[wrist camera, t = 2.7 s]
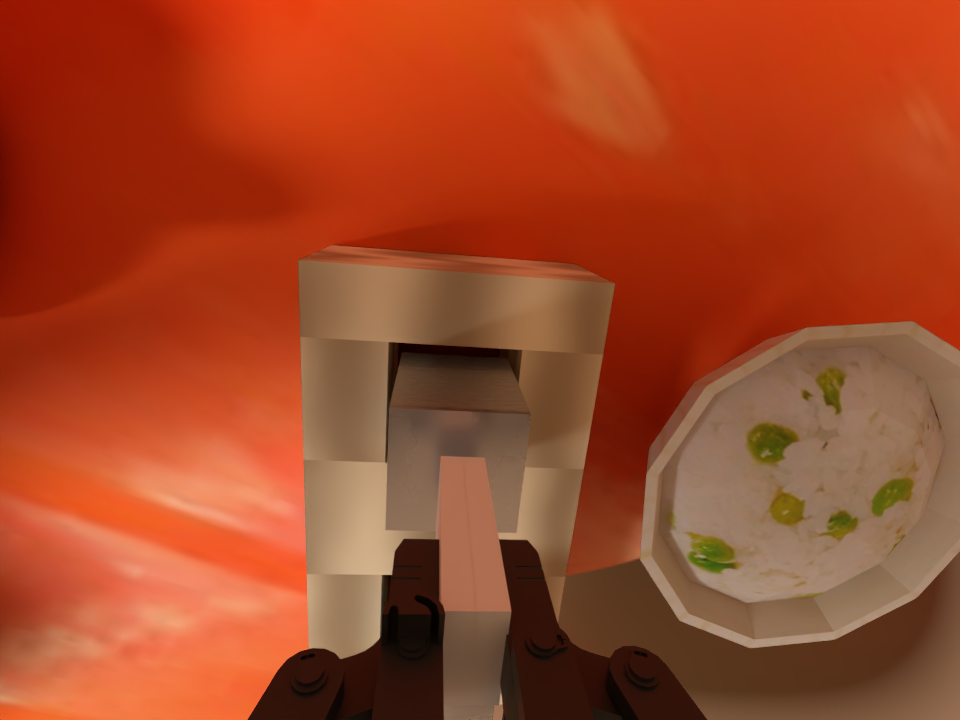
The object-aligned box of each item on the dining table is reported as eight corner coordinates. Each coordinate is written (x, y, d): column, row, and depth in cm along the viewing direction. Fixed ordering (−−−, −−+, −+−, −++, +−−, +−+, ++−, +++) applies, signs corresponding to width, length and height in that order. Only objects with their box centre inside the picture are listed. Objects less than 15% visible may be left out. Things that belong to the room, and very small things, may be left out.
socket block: (334, 612, 36) (310, 707, 29) (331, 245, 28) (298, 259, 21) (525, 612, 37) (544, 703, 30) (574, 263, 29) (615, 283, 22)
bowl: (793, 560, 38) (913, 682, 28) (552, 525, 35) (595, 647, 25) (914, 318, 32) (1114, 368, 22) (638, 253, 29) (734, 280, 20)
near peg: (398, 447, 25) (385, 530, 19) (402, 352, 23) (388, 408, 17) (497, 450, 25) (516, 532, 19) (507, 358, 24) (531, 414, 18)
